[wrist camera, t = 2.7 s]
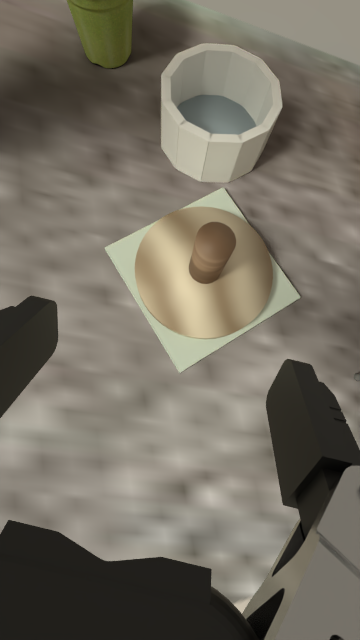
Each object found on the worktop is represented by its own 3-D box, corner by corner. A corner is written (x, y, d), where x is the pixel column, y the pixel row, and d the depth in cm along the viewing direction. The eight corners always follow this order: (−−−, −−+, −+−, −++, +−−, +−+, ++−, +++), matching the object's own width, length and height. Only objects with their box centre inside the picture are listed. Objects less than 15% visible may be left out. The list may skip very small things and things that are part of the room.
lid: (181, 366, 30) (188, 360, 22) (110, 249, 32) (96, 209, 24) (294, 295, 32) (334, 270, 25) (222, 192, 34) (239, 140, 27)
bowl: (196, 199, 34) (203, 161, 29) (141, 119, 36) (138, 68, 30) (281, 155, 37) (304, 112, 31) (226, 82, 39) (238, 29, 33)
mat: (179, 372, 30) (179, 372, 29) (105, 249, 32) (104, 247, 32) (298, 298, 33) (300, 297, 32) (222, 190, 35) (223, 187, 34)
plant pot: (155, 67, 38) (154, -22, 30) (89, 88, 37) (68, 0, 28) (126, 18, 40) (117, -81, 31) (61, 36, 38) (33, -63, 30)
